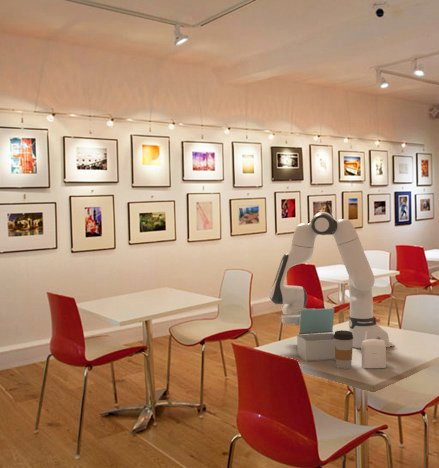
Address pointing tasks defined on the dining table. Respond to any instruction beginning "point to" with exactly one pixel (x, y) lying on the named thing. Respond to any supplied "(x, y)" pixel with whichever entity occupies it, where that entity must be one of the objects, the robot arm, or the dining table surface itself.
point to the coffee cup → (343, 348)
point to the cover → (316, 321)
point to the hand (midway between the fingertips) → (307, 321)
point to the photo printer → (373, 353)
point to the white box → (316, 346)
